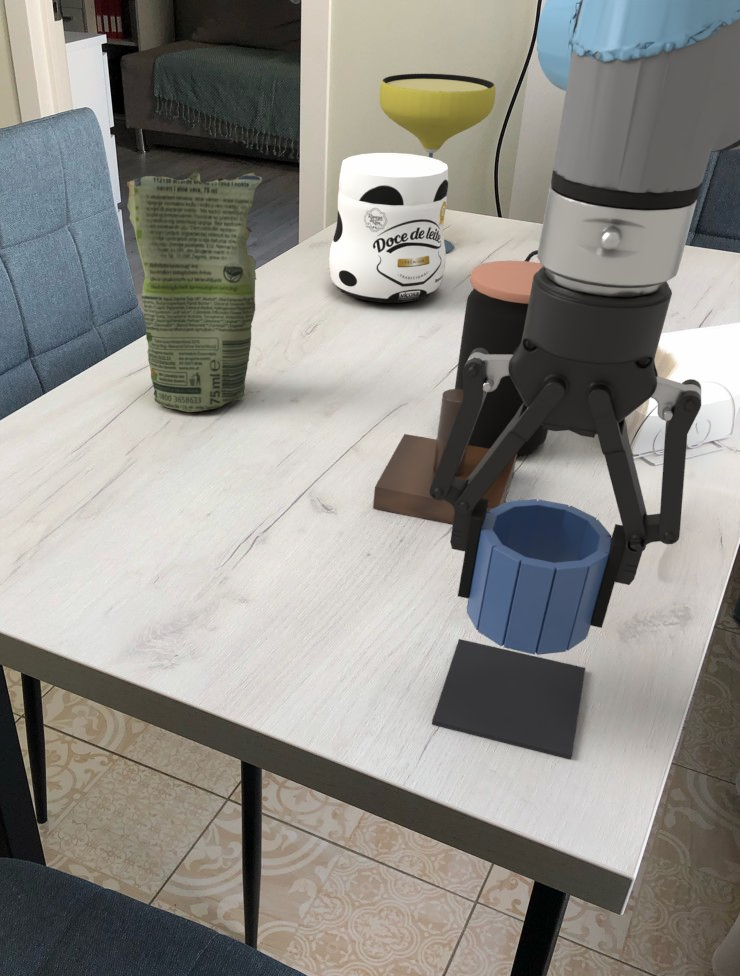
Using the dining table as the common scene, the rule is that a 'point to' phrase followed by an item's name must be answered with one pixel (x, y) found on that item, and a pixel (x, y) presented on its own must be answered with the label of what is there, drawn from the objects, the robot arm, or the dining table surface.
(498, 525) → the ring
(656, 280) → the robot arm
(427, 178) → the doce de leite jar
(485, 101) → the cocktail glass
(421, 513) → the stand
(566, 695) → the mat
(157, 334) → the pouch
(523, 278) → the coffee jar
